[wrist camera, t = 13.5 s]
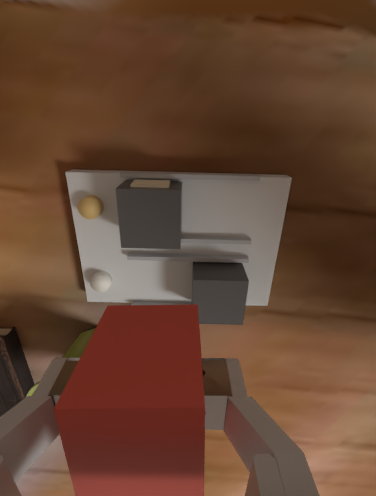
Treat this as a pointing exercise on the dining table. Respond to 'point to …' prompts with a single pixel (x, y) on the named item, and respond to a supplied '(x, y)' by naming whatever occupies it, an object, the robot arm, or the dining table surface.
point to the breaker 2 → (219, 292)
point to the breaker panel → (192, 239)
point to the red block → (137, 405)
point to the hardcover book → (12, 371)
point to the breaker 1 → (150, 214)
